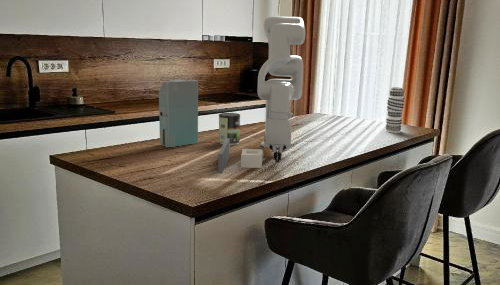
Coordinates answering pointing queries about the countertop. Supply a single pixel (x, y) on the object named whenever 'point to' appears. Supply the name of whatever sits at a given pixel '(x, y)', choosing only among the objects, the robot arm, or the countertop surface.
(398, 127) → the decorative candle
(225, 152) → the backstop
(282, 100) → the robot arm
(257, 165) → the socket block
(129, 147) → the countertop surface
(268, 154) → the dowel
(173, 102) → the device
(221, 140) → the coffee can
